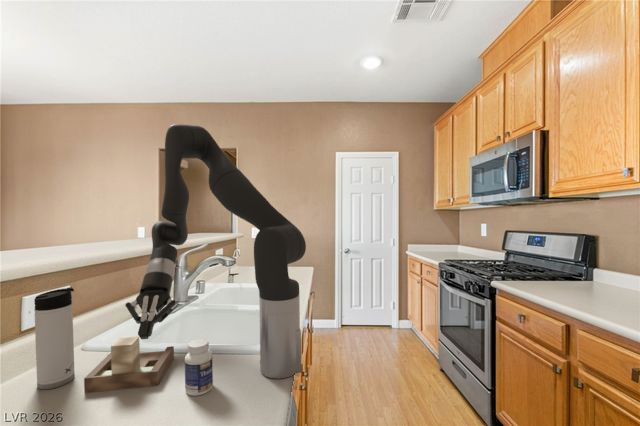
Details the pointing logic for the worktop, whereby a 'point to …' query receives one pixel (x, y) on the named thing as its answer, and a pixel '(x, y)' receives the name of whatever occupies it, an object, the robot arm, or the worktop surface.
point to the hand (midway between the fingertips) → (143, 337)
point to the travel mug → (54, 338)
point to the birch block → (125, 355)
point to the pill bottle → (198, 368)
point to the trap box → (147, 375)
